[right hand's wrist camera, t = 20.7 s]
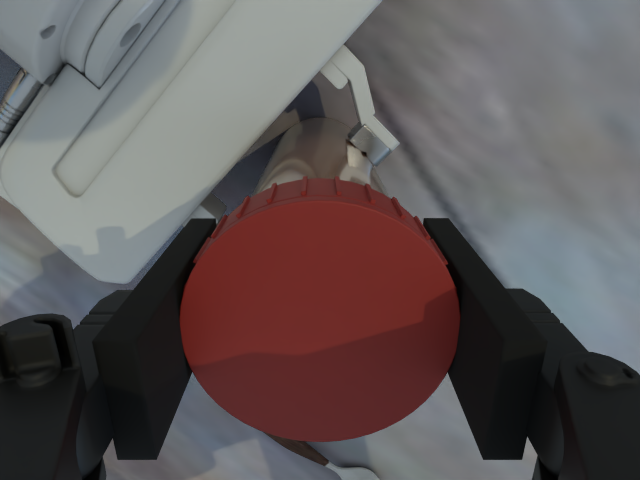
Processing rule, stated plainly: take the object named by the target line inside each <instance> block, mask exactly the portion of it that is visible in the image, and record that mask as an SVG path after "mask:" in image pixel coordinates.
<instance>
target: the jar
mask: <svg viewBox="0 0 640 480" xmlns="http://www.w3.org/2000/svg"><path fill="white" fill-rule="evenodd" d="M350 131H351V129H350V128H349V127H348V126H346V125H345V124H343V123H341V122H339V121H337V120H334V119H330V118H321V117H318V118H310V119H306V120H303V121H301V122H299V123H297V124H295V125H294V126H292V127H291V128H289V129H288V130H287V131H286V132H285V133H284V135H283V136H282V137H281V139H280V140H279V142H278V144H277V146H276V148H275V150H274V152H273V154H272V156H271V157H270V159H269V161H268V163H267V165H266V167H265V169H264V171H263V173H262V175H261V177H260V179H259V181H258V183H257V185H256V187H255V189H254V191H253V193H252V195H251V197H252V196H254V195H256V194H258V193H260V192H262V191H264V190H266V189H268V188H271V186H272V184H273V183H277V185H279V184H282V183H286V182H291V181H295V180H300V179H303V176H307V177H308V179H312V178H327V179H335V176H338V177H339V179H340V180H344V181H350V182H354V183H357V184H360V185H364V186H365V184H366V183H367V184H370V187H371V188H372V189H374V190H376V191H378V192H380V193H382V194H384V195H386V196H387V197H389V195H388V193H387V191H386V189H385V188H384V186H383V184H382V182H381V180H380V178H379V176H378V174H377V172H376V170H375V168H374V166H373V164H372V163H371V162H370V160H369V159H368V158H367V156H366V154H365V152H362V151H360V150H359V149H357V148H356V147H355V146H354V145H353V144H352V143H351V142H350V141H349V139H348V138H349V137H348V136H347V134H348V133H349V132H350ZM251 197H250V198H251ZM389 198H390V197H389Z"/></svg>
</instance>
